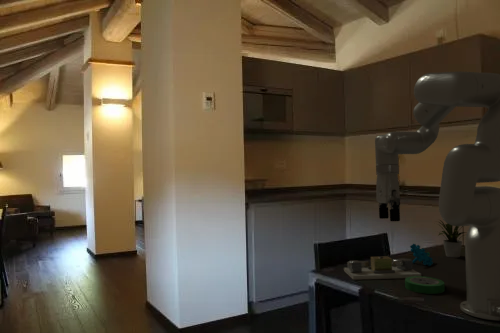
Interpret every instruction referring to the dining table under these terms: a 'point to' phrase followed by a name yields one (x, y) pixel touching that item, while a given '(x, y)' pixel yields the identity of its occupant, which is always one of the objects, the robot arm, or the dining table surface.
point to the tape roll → (424, 285)
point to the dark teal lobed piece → (421, 255)
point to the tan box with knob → (381, 263)
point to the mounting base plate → (381, 273)
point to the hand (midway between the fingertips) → (389, 219)
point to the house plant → (451, 240)
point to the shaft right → (403, 264)
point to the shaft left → (357, 265)
